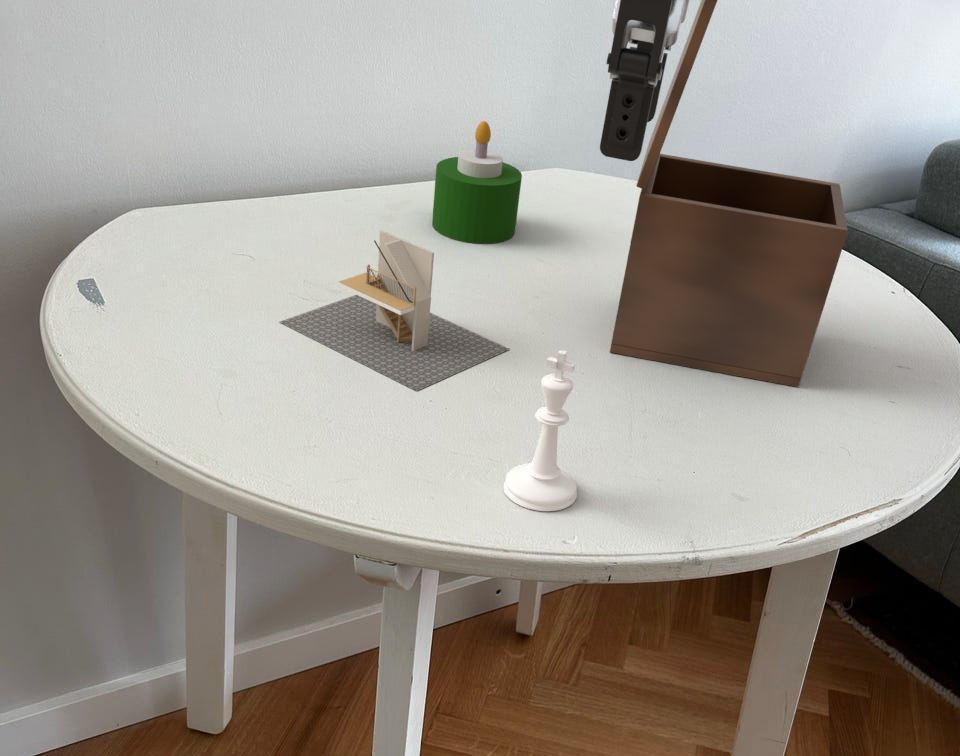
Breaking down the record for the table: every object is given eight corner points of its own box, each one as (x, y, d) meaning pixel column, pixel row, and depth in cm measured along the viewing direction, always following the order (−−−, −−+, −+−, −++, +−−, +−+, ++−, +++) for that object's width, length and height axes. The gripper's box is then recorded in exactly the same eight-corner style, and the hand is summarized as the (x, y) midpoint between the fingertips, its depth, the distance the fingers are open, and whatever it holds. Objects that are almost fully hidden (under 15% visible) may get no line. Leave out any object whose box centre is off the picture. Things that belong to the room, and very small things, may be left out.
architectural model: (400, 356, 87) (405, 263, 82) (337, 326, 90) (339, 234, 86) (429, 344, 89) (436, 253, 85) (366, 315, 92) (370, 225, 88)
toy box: (795, 330, 99) (839, 183, 91) (798, 387, 90) (848, 230, 82) (623, 299, 101) (651, 151, 92) (609, 352, 92) (639, 194, 84)
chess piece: (564, 519, 72) (590, 378, 65) (492, 498, 73) (511, 358, 66) (585, 483, 76) (611, 346, 69) (517, 464, 77) (536, 327, 70)
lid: (740, -76, 82) (730, -80, 82) (737, -54, 73) (726, -59, 73) (657, 147, 92) (648, 144, 92) (646, 190, 83) (635, 186, 83)
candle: (442, 207, 114) (451, 103, 108) (521, 221, 113) (534, 117, 107) (423, 234, 108) (430, 125, 101) (506, 249, 107) (519, 140, 101)
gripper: (774, -204, 47) (683, 186, 58) (776, -210, 58) (699, 118, 68) (601, -232, 48) (542, 159, 58) (635, -233, 59) (580, 96, 69)
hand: (627, 137), depth 63 cm, fingers open, 8 cm apart
